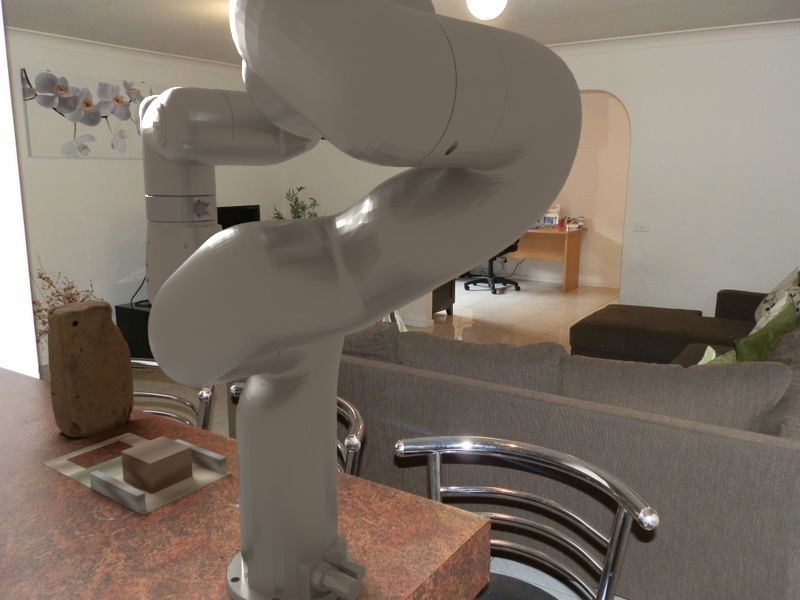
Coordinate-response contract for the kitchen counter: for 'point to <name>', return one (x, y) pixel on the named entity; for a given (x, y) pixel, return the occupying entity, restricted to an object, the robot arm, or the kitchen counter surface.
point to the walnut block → (156, 464)
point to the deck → (111, 484)
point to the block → (88, 369)
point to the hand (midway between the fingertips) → (191, 369)
